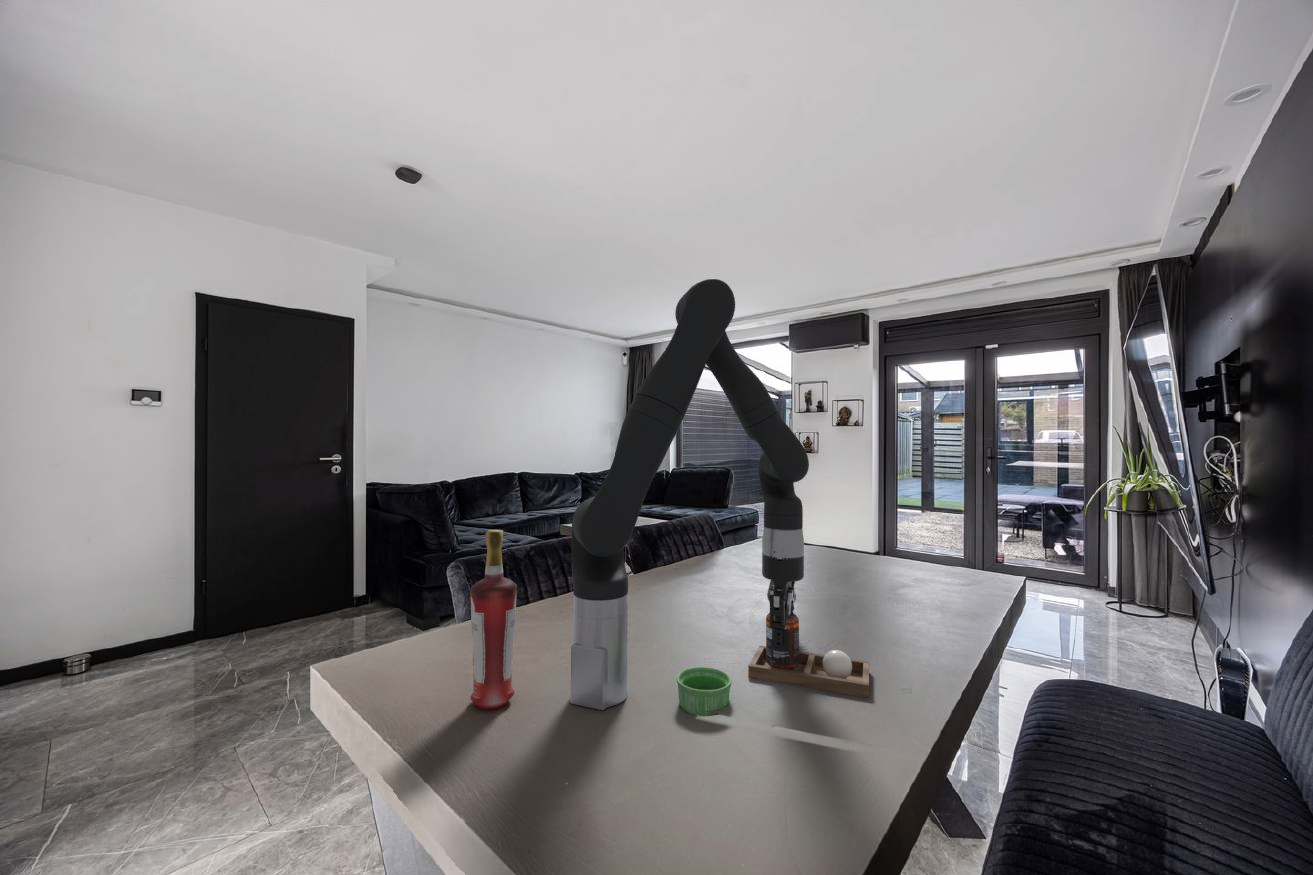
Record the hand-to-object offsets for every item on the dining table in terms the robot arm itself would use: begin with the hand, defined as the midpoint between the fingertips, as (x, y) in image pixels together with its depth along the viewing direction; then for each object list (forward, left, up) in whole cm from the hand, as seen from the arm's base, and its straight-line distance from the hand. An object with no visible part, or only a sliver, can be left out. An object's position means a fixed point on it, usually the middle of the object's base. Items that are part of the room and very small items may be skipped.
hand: (782, 642), depth 98 cm
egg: (0, -10, -5) cm, 11 cm away
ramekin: (-16, +10, -6) cm, 20 cm away
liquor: (-29, +42, -6) cm, 52 cm away
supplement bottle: (0, 0, -4) cm, 4 cm away
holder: (0, -5, -6) cm, 8 cm away
